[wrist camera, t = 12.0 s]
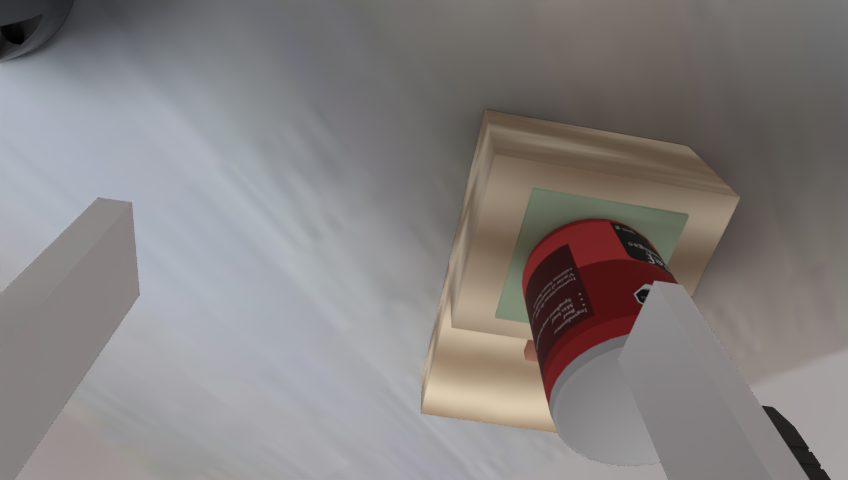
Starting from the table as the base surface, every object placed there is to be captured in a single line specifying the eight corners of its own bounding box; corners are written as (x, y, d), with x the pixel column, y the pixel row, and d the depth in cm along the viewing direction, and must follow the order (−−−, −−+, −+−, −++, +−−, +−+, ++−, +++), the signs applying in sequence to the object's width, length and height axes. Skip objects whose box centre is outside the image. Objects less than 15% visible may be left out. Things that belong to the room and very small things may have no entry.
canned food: (665, 301, 36) (749, 446, 27) (538, 335, 38) (574, 484, 28) (643, 194, 33) (730, 318, 23) (503, 237, 34) (531, 370, 24)
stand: (579, 401, 52) (602, 482, 44) (421, 378, 51) (419, 457, 43) (687, 145, 40) (743, 199, 33) (484, 109, 39) (495, 156, 32)
